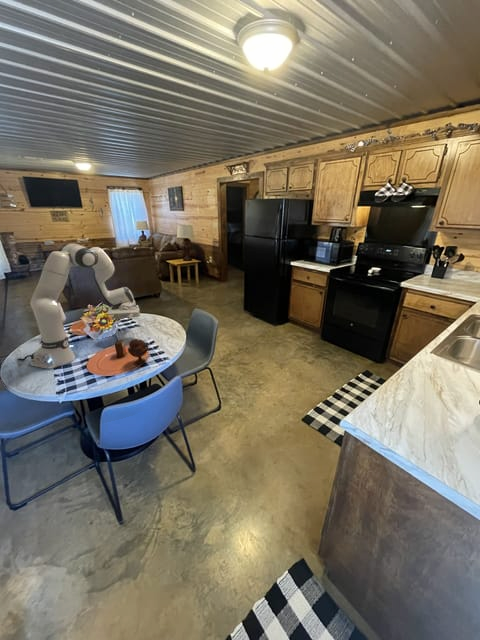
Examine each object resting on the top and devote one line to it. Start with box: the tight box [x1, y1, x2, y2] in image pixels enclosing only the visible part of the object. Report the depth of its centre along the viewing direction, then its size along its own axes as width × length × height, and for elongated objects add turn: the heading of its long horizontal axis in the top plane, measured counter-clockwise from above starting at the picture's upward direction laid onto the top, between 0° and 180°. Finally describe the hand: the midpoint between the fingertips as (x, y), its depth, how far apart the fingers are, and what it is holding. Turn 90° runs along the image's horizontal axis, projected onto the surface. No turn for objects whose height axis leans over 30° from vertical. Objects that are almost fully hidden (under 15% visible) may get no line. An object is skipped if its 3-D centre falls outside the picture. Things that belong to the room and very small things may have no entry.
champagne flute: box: [57, 301, 71, 338], centre depth 177 cm, size 7×7×24 cm
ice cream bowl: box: [127, 338, 149, 366], centre depth 148 cm, size 11×11×15 cm
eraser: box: [114, 338, 127, 358], centre depth 157 cm, size 4×6×9 cm
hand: (120, 318), depth 162 cm, fingers open, 8 cm apart
